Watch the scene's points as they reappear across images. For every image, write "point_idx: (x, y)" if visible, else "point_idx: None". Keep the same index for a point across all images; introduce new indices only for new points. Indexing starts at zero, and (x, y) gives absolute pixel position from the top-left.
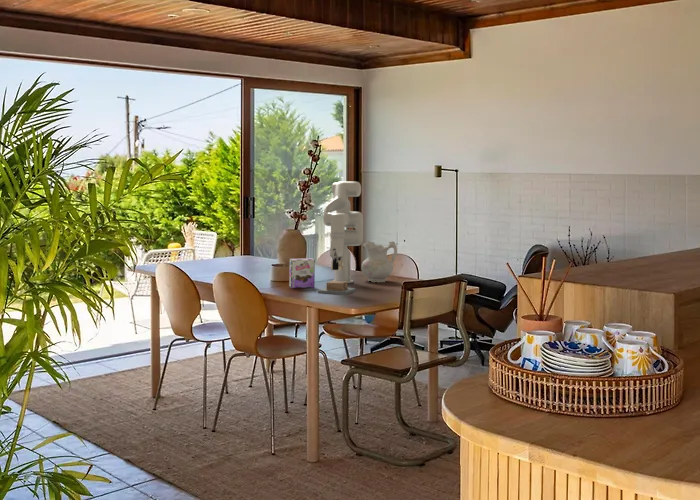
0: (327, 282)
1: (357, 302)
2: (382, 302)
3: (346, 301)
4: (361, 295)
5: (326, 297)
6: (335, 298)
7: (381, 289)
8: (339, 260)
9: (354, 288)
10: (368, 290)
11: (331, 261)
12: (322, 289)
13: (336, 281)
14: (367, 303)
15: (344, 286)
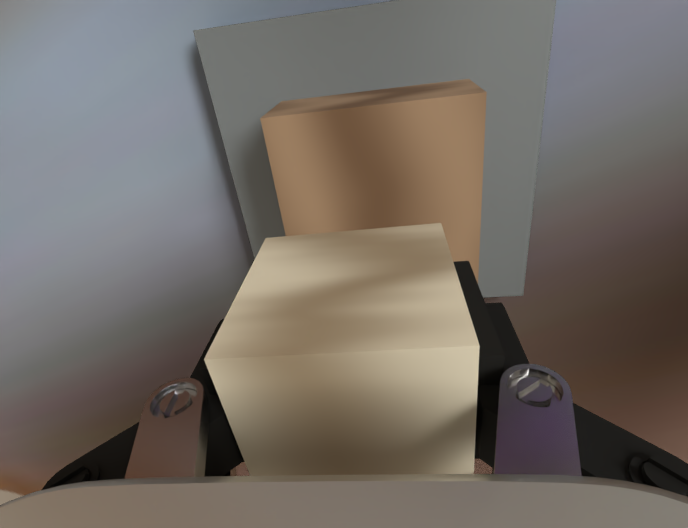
0: (276, 123)
1: (65, 432)
2: None
3: (42, 385)
4: None
5: (57, 227)
6: (75, 298)
7: (668, 404)
8: (448, 457)
9: (502, 293)
10: (581, 350)
11: (211, 346)
12: (279, 41)
13: (424, 181)
14: None
15: None
